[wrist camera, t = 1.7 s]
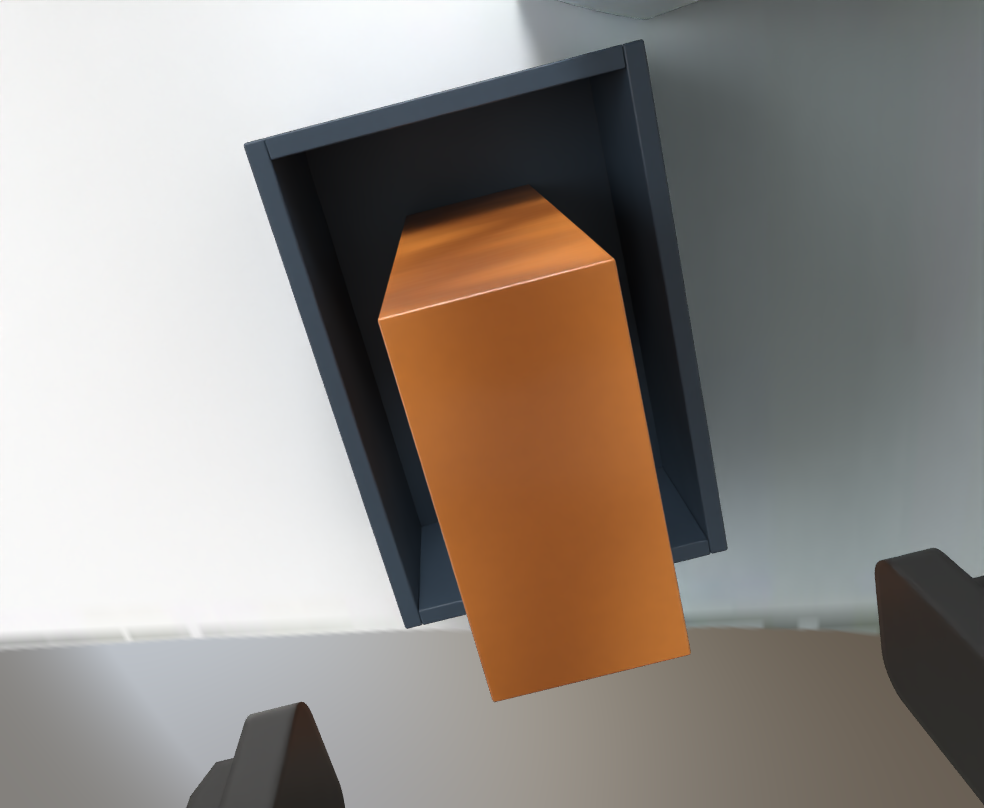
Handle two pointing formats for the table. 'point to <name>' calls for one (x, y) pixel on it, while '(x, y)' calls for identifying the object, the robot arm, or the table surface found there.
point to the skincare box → (631, 6)
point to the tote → (463, 176)
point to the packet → (533, 440)
